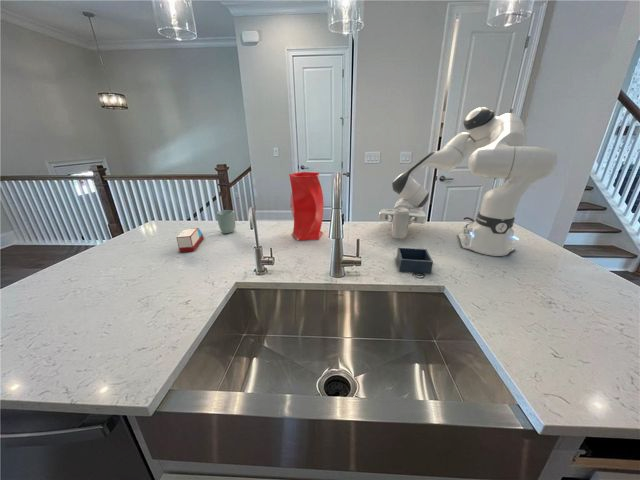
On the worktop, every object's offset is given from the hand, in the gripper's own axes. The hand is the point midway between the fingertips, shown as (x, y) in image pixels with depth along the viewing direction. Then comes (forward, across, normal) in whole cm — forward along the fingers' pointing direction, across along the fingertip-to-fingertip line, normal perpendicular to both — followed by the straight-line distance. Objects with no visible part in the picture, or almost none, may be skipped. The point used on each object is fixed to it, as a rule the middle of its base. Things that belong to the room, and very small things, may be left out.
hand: (400, 221), depth 111 cm
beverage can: (-1, 0, +7) cm, 7 cm away
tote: (+23, +6, +9) cm, 26 cm away
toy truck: (+32, -85, +9) cm, 91 cm away
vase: (+7, -40, +9) cm, 42 cm away
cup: (+14, -80, +9) cm, 81 cm away
